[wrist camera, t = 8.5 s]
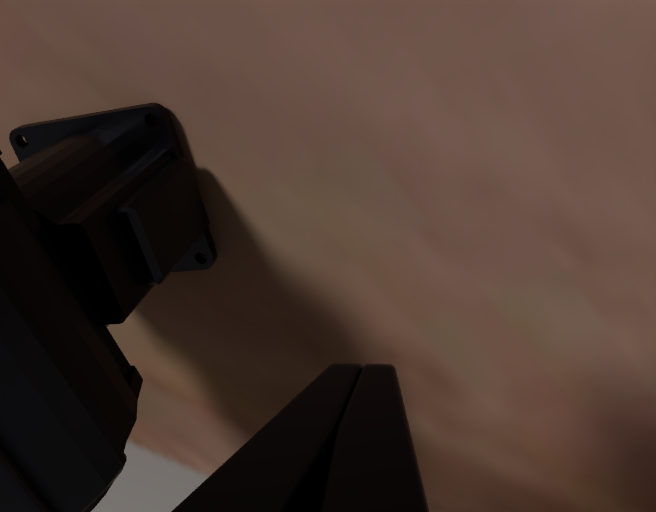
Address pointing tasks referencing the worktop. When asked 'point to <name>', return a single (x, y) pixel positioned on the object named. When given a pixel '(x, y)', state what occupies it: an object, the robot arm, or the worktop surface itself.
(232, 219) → the worktop surface
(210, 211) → the worktop surface
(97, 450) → the robot arm
